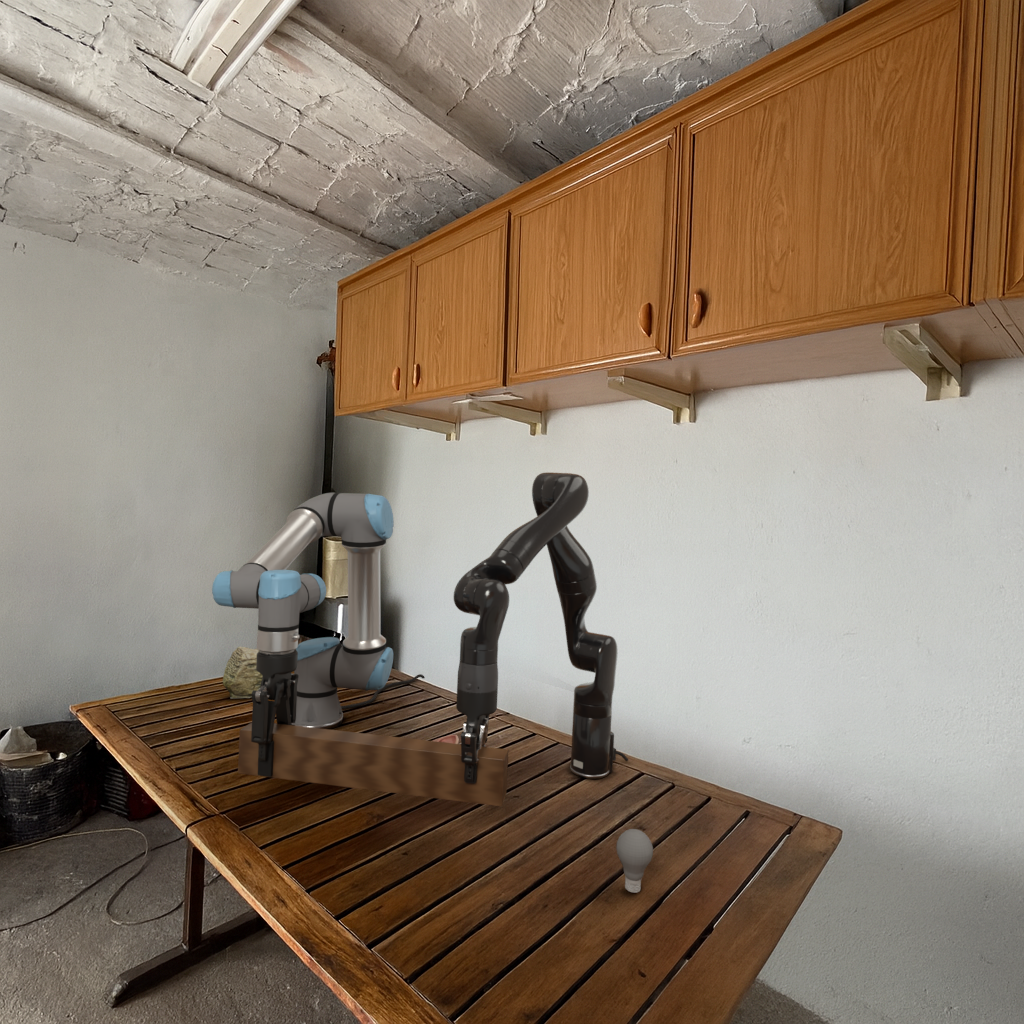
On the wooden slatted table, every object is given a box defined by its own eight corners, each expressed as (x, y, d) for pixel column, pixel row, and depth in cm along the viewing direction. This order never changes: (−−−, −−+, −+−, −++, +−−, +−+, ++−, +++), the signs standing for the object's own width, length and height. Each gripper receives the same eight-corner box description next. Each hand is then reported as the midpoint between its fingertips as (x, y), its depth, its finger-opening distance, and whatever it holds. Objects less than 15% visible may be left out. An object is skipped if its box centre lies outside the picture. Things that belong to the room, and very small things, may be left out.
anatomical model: (397, 744, 153) (414, 727, 164) (396, 760, 153) (413, 743, 165) (449, 750, 151) (463, 733, 162) (449, 767, 151) (462, 749, 162)
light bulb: (610, 879, 108) (613, 822, 108) (644, 879, 109) (647, 822, 109) (619, 902, 102) (622, 840, 102) (655, 901, 103) (658, 840, 103)
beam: (237, 773, 122) (239, 729, 122) (252, 762, 127) (254, 720, 127) (501, 806, 114) (504, 760, 114) (506, 794, 119) (508, 749, 119)
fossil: (218, 695, 195) (220, 647, 195) (278, 685, 208) (279, 640, 207) (228, 703, 189) (230, 653, 188) (289, 692, 201) (290, 645, 201)
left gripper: (270, 663, 114) (265, 791, 114) (317, 641, 131) (312, 752, 132) (232, 659, 115) (227, 787, 115) (283, 639, 133) (279, 749, 133)
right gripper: (490, 698, 109) (486, 795, 110) (504, 676, 124) (500, 762, 124) (448, 694, 111) (444, 790, 111) (466, 672, 125) (462, 758, 125)
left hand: (273, 768), depth 124 cm, fingers closed on beam, 5 cm apart
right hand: (473, 775), depth 117 cm, fingers closed on beam, 5 cm apart
